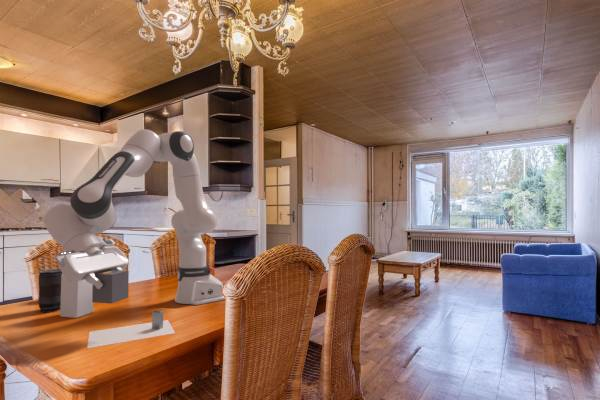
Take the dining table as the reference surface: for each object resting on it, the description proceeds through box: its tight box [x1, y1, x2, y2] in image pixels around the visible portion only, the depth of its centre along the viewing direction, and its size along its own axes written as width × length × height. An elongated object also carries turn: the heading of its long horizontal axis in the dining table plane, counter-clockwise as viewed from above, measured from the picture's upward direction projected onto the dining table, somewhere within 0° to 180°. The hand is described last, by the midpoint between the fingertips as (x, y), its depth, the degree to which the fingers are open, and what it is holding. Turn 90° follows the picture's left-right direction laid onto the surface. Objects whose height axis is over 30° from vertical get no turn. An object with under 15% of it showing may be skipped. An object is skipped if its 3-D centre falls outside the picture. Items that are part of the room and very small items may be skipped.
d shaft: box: [151, 309, 164, 330], centre depth 102 cm, size 3×3×5 cm
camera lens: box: [38, 268, 62, 313], centre depth 126 cm, size 8×8×15 cm
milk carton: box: [59, 273, 94, 319], centre depth 120 cm, size 7×7×19 cm
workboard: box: [86, 319, 176, 349], centre depth 98 cm, size 22×14×2 cm, turn 120°
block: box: [92, 269, 130, 305], centre depth 96 cm, size 6×6×8 cm
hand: (112, 284), depth 96 cm, fingers closed on block, 6 cm apart
